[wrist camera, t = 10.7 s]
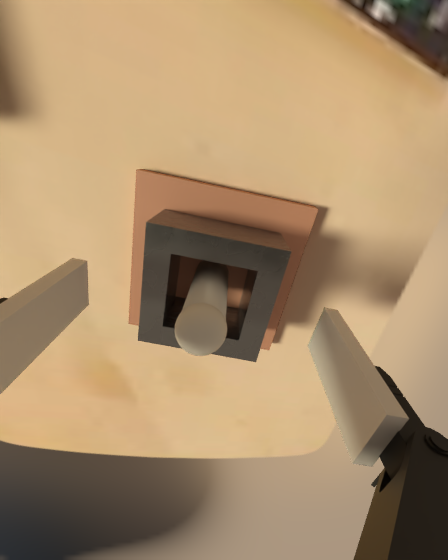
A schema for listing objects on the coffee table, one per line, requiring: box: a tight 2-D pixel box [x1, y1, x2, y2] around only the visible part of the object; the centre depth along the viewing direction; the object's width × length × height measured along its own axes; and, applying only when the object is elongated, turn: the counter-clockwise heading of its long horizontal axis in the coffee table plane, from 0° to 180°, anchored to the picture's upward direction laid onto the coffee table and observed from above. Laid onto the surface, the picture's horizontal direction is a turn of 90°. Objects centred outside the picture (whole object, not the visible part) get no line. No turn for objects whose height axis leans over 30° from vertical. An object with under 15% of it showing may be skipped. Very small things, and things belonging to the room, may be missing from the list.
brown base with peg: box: [129, 169, 318, 356], centre depth 16 cm, size 12×12×9 cm
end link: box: [138, 209, 292, 362], centre depth 17 cm, size 8×8×4 cm
